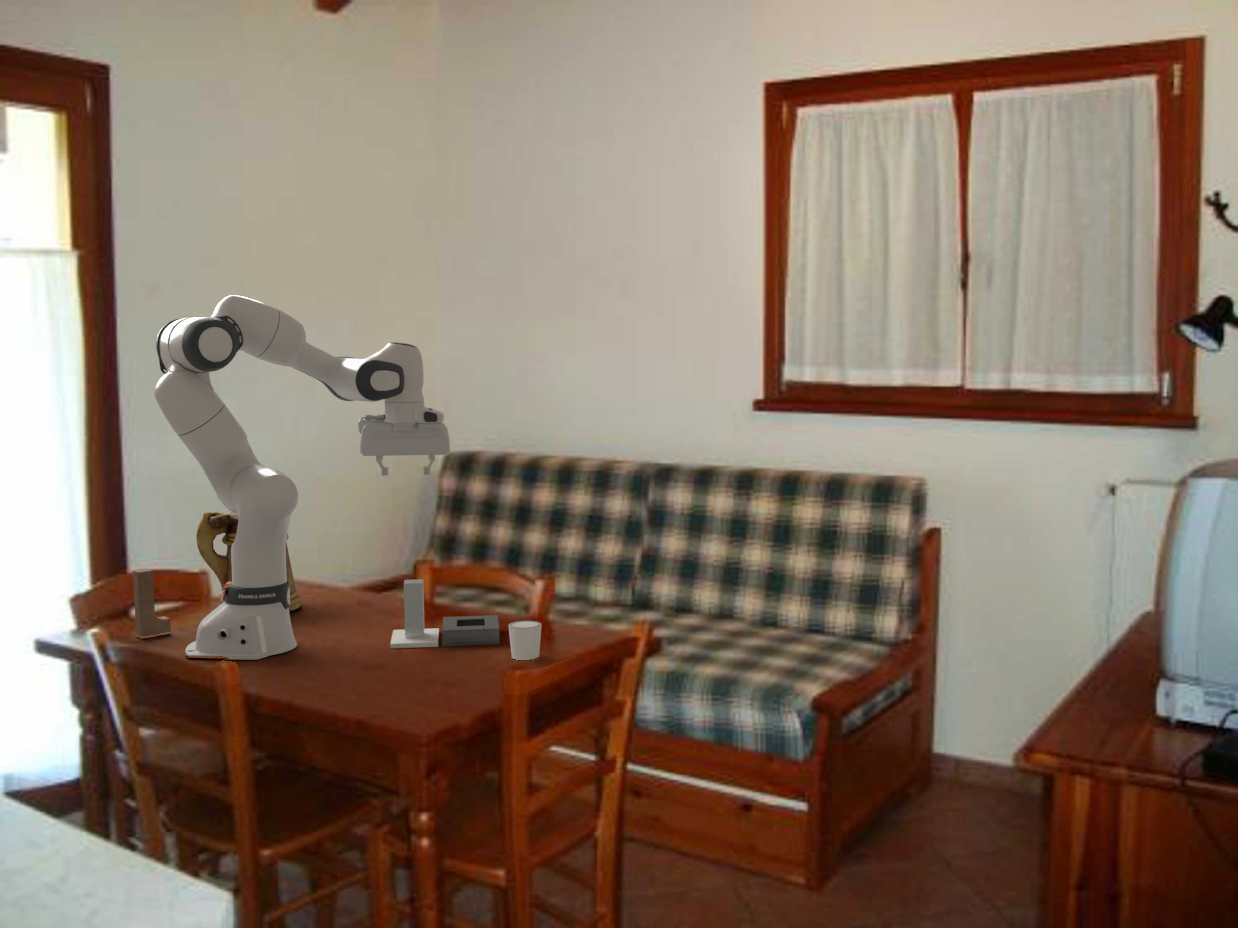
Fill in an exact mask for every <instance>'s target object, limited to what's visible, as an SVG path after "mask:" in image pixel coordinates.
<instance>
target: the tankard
mask: <svg viewBox="0 0 1238 928" xmlns="http://www.w3.org/2000/svg"><path fill="white" fill-rule="evenodd" d="M238 520H239V516H238V514H237V513H234V512H232V511H227V512H219V511H204V512H203V516H202V518H201V520H200V522H199V524H198V526H197V531H196V546H197V549H198V552H199V555H200V556H201V557H202V559H203V561H204V562H205V563H206V565H208V567H209V568H210V569H211V571H212V572H213V573H214V575H215V576H216V577H217V579H218V581H219V583H220V587H221V590H222V591H221V592H223V587H224V585H225V584H226V583H227V582H232V564H231V547H232V544H233V543H234V541H235V538H236V533H237V528H238ZM222 534H224V535H223V537H222V539H221V542H222V544H224V545H226V546H227V547H226V553H225V554H223V555H222V554H218V553H217V551H215V549H214V540H216V537H217V536H218V535H222ZM288 540H289V533H287V539H286V577H287V580H288V581H289V587H290V606H289V613H290V612H292V611H295V610H297V609H299V608H300V607H301V606H302V602H301V597H300V594H299V593H300V591H299V590H298V589H297V588H296V584H295V578H294V575H293V570H292V569H293V568H292V563H291V558H290V554H289V549H288V543H287V541H288ZM223 602H224V600H223V595H221V597H220V604H219V605H221V604H222V603H223Z"/></svg>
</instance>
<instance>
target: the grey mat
mask: <svg viewBox="0 0 1238 928" xmlns="http://www.w3.org/2000/svg"><path fill="white" fill-rule="evenodd" d="M424 630H425V634H424V638H405V628H404V629H393V630H392V633H391V634H392V635H391V640H390V643H389V644H390V649H407V648H410V649H411V648H413V649H414V648H438V647H439V637H440V628H439V627H438V628H434V627H433V628H424Z"/></svg>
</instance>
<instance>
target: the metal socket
mask: <svg viewBox="0 0 1238 928" xmlns="http://www.w3.org/2000/svg"><path fill="white" fill-rule="evenodd" d="M442 618H443V619H442V647H462V646H463V647H464V646H489V645H491V646H492V645H493V646H494V645H500V644H501V643H500V624H499V616H498V614H494V615H493V614H491V615H490V614H489V615H465V616H464V615H463V616H443V617H442Z"/></svg>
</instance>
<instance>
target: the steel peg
mask: <svg viewBox="0 0 1238 928" xmlns="http://www.w3.org/2000/svg"><path fill="white" fill-rule="evenodd" d="M424 592H425V590H424V579H422V578H420V579H418V578H417V579H404V581H403V602H404V606H403V607H404V609H403V610H404V629H405V638H424V634H425V630H424V629H425V599H424V598H425V597H424V596H425V595H424Z"/></svg>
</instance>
